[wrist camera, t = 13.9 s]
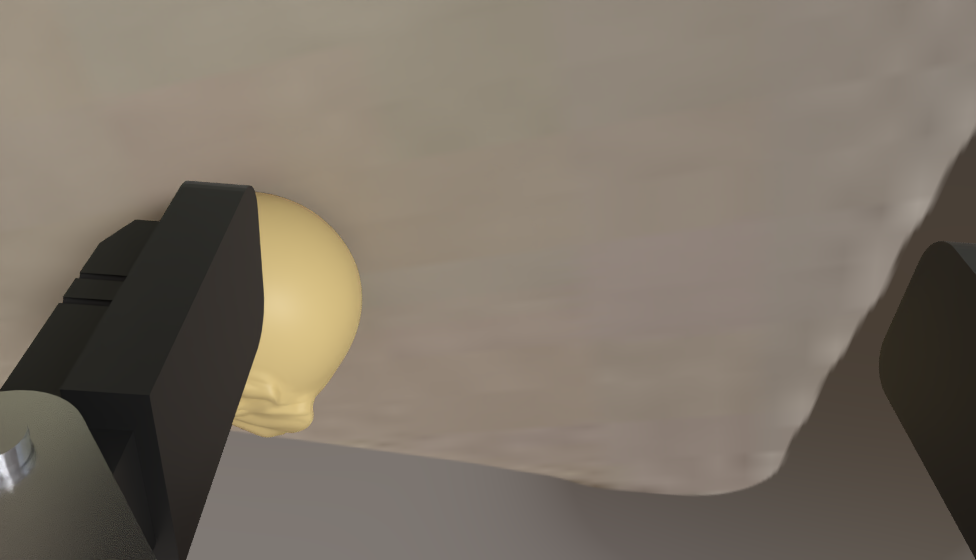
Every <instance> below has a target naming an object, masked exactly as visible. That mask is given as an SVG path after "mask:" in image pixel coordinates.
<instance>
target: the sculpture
mask: <svg viewBox="0 0 976 560" xmlns="http://www.w3.org/2000/svg"><path fill="white" fill-rule="evenodd" d="M255 193H256V198H257V205H258V218H259V231H260V245H261V259H262V273H263V286H264V318H263V327H262V333H261V338H260V343H259V346H258V350H257V352H256V355H255V358H254V361H253V364H252V367H251V370H250V373H249V376H248V379H247V382H246V385H245V388H244V391H243V394H242V397H241V399H240V402H239V405H238V408H237V411H236V414H235V417H234V420H233V423H232V425H234V426H236V427H239V428H241V429H244V430H246V431H249V432H251V433H254V434H256V435H259V436H262V437H273V436H278V435H283V434H285V433H287V432H288V433H295V432H299V431H301V430H304V429H305V428H307V427H308V426H309V425H310V424H311V423H312V420H313V402H314V400H315V397H316V396H317V395H318V394H319V393H320V392H321V390H322V389H323V388H324V387H325V386H326V384H327V383H328V382H329V380H330V379H331V378H332V376H333V375H334V373H335V371H336V370H337V368H338V367H339V365H340V364H341V362H342V361H343V359H344V357H345V356H346V354H347V352H348V350H349V348H350V346H351V344H352V342H353V340H354V337H355V334H356V331H357V328H358V325H359V321H360V316H361V308H362V289H361V282H360V277H359V273H358V269H357V267H356V264H355V261H354V259H353V257H352V255H351V253H350V251H349V249H348V248H347V246H346V245H345V243H344V242H343V240H342V239H341V238H340V236H339V235H338V234H337V233H336V232H335V231H334V230H333V228H332V227H331V226H330V225H329V224H327V223H326V222H325V221H324V220H323V219H322V218H320V217H319V216H318V215H317V214H315V213H314V212H312V211H311V210H309V209H307V208H306V207H304V206H302V205H300V204H298V203H296V202H293V201H291V200H288V199H286V198H283V197H279V196H275V195H271V194H266V193H259V192H255Z"/></svg>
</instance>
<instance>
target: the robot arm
mask: <svg viewBox="0 0 976 560" xmlns="http://www.w3.org/2000/svg"><path fill="white" fill-rule="evenodd" d="M263 318H264V286H263V273H262V259H261V245H260V231H259V218H258V205H257V198H256V193H255V190H254V188H253V187H252V186H248V185H235V184H222V183H210V182H197V181H185V182H184V183H183V184H182V185H181V187H180V188H179V190H178V192H177V193H176V195H175V197H174V198H173V200H172V202H171V203H170V205H169V207H168V208H167V210H166V212H165V213H164V215H163V217H162V218H161V220H160V222H158V221H145V220H134V221H133V222H131V223H130V224H128V225H127V226H125V227H124V228H122V229H120V230H119V231H117V232H116V233H114V234H113V235H111V236H110V237H108V238H107V239H105V240H104V241H102V242H101V243H99V245H98V246H97V248H96V249H95V251H94V252H93V254H92V255H91V257H90V258H89V260H88V261H87V263H86V264H85V265H84V267H83V268H82V270H81V271H80V278H76V279H75V280H74V282H73V283H72V285H71V286H70V288H69V289H68V291H67V292H66V293H65V295H64V296H63V303H59V304H58V305H57V307H56V308H55V310H54V311H53V313H52V314H51V316H50V317H49V319H48V320H47V321H46V323H45V324H44V326H43V327H42V329H41V330H40V332H39V333H38V335H37V336H36V338H35V339H34V341H33V342H32V344H31V345H30V347H29V348H28V349H27V351H26V352H25V354H24V355H23V357H22V358H21V360H20V361H19V363H18V364H17V366H16V367H15V369H14V370H13V372H12V373H11V375H10V376H9V377H8V379H7V380H6V382H5V383H4V385H3V386H2V388H1V389H0V560H186V558H187V555H188V552H189V549H190V546H191V543H192V540H193V538H194V535H195V532H196V529H197V526H198V523H199V520H200V517H201V514H202V511H203V508H204V505H205V502H206V499H207V496H208V493H209V491H210V487H211V485H212V482H213V479H214V476H215V473H216V470H217V467H218V464H219V461H220V458H221V455H222V452H223V449H224V446H225V443H226V441H227V437H228V435H229V432H230V429H231V426H232V423H233V420H234V417H235V414H236V411H237V408H238V405H239V402H240V399H241V397H242V394H243V391H244V388H245V385H246V382H247V379H248V376H249V373H250V370H251V367H252V364H253V361H254V358H255V355H256V352H257V350H258V346H259V343H260V338H261V333H262V327H263ZM879 374H880V380H881V384H882V388H883V390H884V392H885V394H886V396H887V398H888V400H889V401H890V404H891V405H892V407H893V409H894V411H895V413H896V415H897V416H898V418H899V420H900V422H901V424H902V426H903V427H904V429H905V431H906V433H907V434H908V436H909V438H910V440H911V442H912V444H913V446H914V447H915V449H916V451H917V453H918V455H919V456H920V458H921V460H922V462H923V464H924V466H925V467H926V469H927V471H928V473H929V475H930V477H931V479H932V480H933V482H934V484H935V486H936V487H937V489H938V491H939V493H940V495H941V497H942V499H943V500H944V502H945V504H946V506H947V508H948V510H949V511H950V513H951V515H952V517H953V519H954V521H955V522H956V524H957V526H958V528H959V530H960V532H961V533H962V535H963V537H964V539H965V541H966V542H967V544H968V546H969V548H970V550H971V551H972V553H973V555H974V557H975V559H976V244H971V243H958V242H946V241H940V242H936V243H933V244H932V245H930V246H929V247H928V248H927V249H926V251H925V252H924V253H923V255H922V257H921V259H920V261H919V263H918V265H917V267H916V269H915V272H914V274H913V276H912V278H911V280H910V283H909V285H908V287H907V289H906V292H905V294H904V296H903V298H902V300H901V303H900V305H899V307H898V309H897V312H896V314H895V316H894V318H893V320H892V323H891V325H890V327H889V329H888V332H887V334H886V336H885V338H884V341H883V343H882V347H881V351H880V357H879Z"/></svg>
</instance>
